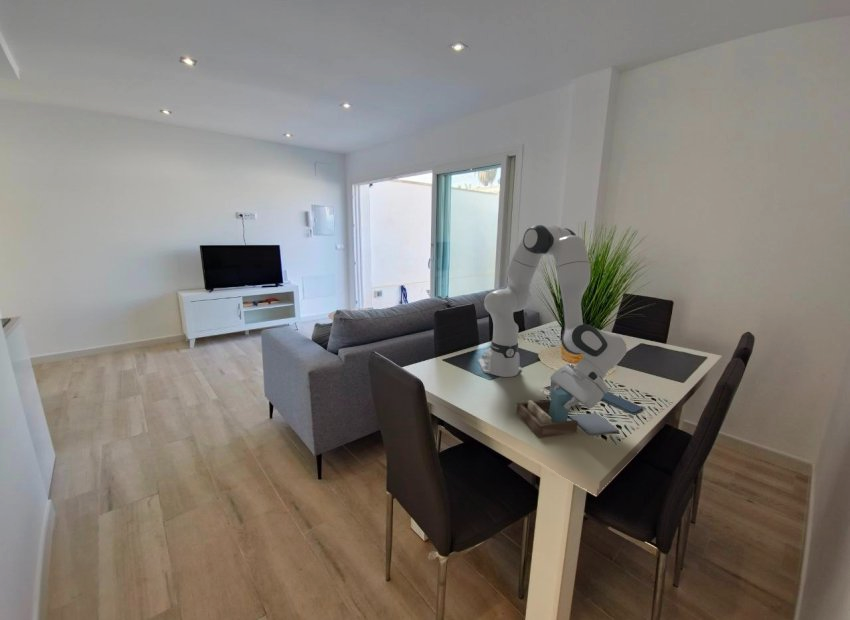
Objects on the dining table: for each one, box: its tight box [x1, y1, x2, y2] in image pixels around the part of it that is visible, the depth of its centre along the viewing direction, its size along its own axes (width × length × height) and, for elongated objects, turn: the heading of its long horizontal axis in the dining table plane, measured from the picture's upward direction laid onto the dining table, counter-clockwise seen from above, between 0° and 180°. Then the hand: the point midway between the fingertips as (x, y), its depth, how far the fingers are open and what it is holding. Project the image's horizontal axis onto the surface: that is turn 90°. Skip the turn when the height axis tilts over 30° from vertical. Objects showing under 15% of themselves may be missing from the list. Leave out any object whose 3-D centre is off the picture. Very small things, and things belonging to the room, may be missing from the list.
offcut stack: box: [527, 399, 552, 424], centre depth 118 cm, size 9×4×6 cm, turn 13°
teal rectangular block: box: [548, 389, 571, 423], centre depth 119 cm, size 4×5×11 cm
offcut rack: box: [515, 399, 579, 438], centre depth 119 cm, size 15×14×4 cm
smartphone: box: [600, 391, 644, 415], centre depth 134 cm, size 8×2×15 cm
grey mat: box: [568, 412, 620, 436], centre depth 119 cm, size 11×11×1 cm
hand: (558, 402), depth 119 cm, fingers open, 5 cm apart
